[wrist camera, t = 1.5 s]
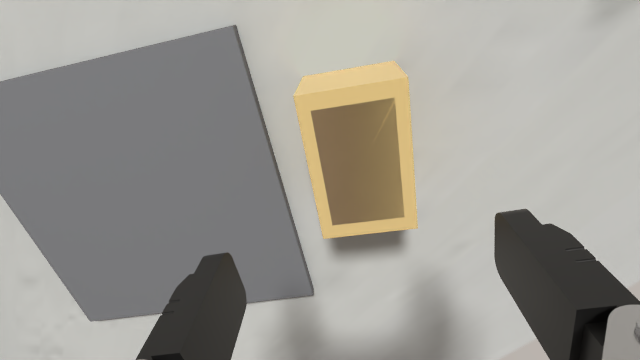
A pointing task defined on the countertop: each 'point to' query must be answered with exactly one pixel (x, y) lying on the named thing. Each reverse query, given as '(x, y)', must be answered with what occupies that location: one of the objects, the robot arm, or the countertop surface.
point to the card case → (359, 148)
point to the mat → (149, 175)
